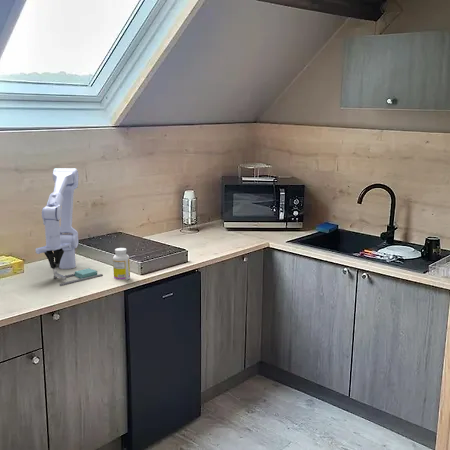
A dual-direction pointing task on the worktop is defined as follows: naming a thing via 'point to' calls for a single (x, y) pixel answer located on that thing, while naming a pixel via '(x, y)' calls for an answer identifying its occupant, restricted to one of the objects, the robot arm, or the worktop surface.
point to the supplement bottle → (121, 264)
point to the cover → (85, 273)
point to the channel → (79, 279)
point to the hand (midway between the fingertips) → (54, 267)
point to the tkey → (57, 273)
